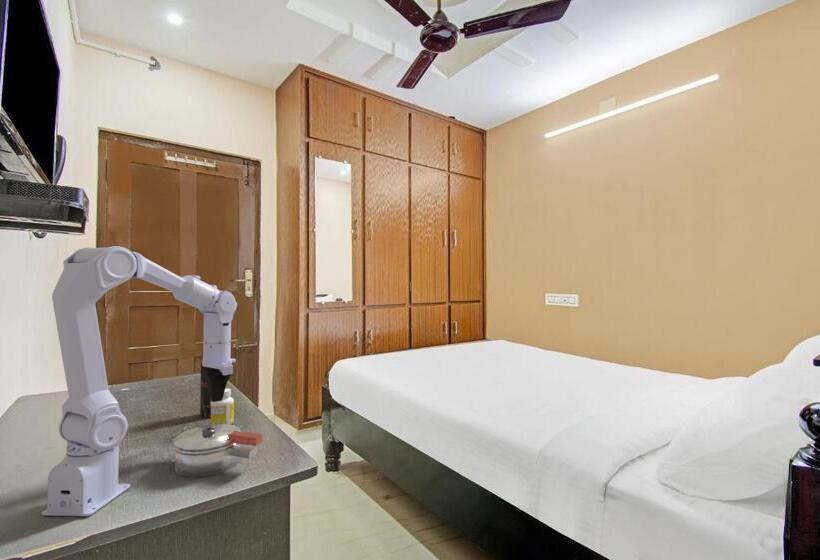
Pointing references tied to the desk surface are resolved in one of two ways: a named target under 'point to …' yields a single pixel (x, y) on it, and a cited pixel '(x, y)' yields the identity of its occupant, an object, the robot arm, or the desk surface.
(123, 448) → the desk surface
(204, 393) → the deodorant
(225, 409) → the supplement bottle
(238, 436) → the lid
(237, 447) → the pot
